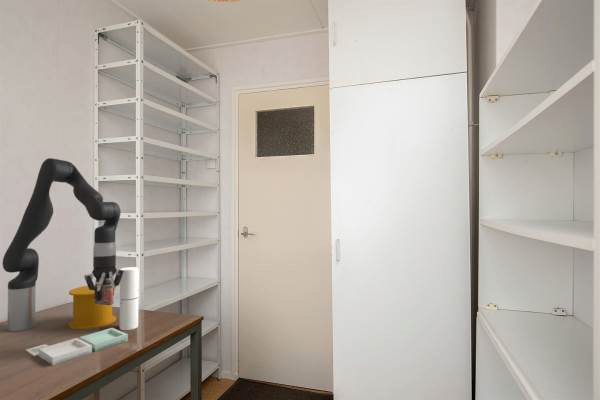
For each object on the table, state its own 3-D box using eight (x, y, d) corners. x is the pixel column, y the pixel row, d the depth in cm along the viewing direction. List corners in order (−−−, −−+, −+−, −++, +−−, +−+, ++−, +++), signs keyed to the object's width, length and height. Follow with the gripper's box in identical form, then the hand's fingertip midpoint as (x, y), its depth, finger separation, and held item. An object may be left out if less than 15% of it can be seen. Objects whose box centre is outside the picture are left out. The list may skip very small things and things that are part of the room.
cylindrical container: (130, 330, 144) (131, 270, 144) (115, 329, 145) (116, 269, 146) (141, 324, 151) (142, 267, 151) (127, 323, 152) (127, 266, 153)
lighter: (115, 303, 133) (116, 277, 133) (108, 305, 129) (108, 279, 129) (100, 301, 135) (100, 275, 135) (92, 303, 132) (92, 277, 132)
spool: (90, 314, 165) (90, 283, 165) (124, 316, 162) (125, 284, 162) (58, 328, 147) (58, 292, 147) (96, 330, 144) (96, 294, 144)
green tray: (79, 343, 131) (79, 337, 131) (112, 333, 141) (112, 327, 141) (94, 351, 124) (94, 344, 124) (127, 340, 134) (127, 334, 134)
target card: (25, 350, 125) (25, 349, 125) (45, 344, 129) (45, 343, 129) (34, 356, 120) (34, 355, 120) (54, 350, 125) (54, 349, 125)
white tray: (38, 355, 120) (38, 348, 120) (76, 344, 130) (76, 337, 130) (52, 365, 113) (52, 357, 113) (91, 352, 123) (91, 345, 123)
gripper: (118, 251, 140) (118, 293, 140) (80, 255, 129) (79, 301, 129) (128, 252, 136) (127, 296, 136) (89, 257, 125) (88, 305, 124)
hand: (104, 298), depth 132 cm, fingers closed on lighter, 3 cm apart
